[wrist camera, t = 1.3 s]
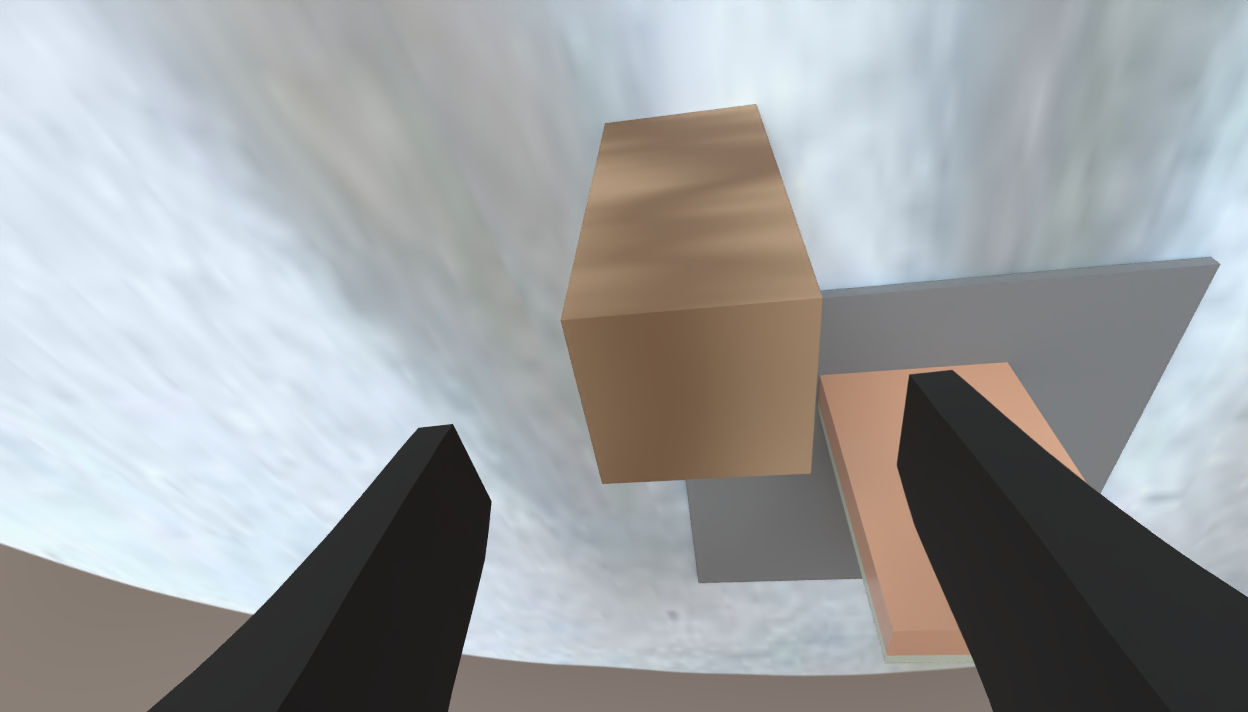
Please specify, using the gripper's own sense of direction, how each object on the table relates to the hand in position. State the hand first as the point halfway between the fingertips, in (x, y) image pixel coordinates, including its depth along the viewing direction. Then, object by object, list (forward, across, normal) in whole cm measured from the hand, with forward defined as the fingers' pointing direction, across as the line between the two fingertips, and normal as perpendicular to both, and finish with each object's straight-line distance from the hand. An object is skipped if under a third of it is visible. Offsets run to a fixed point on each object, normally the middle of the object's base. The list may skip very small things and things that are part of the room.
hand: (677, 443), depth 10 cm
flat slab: (+9, -7, +8) cm, 14 cm away
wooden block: (+10, -1, 0) cm, 10 cm away
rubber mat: (+10, -7, +12) cm, 17 cm away
